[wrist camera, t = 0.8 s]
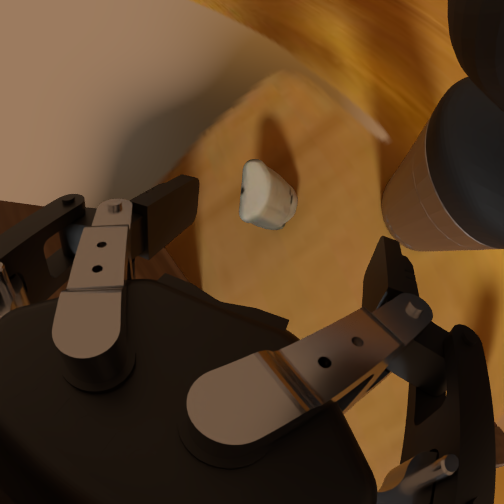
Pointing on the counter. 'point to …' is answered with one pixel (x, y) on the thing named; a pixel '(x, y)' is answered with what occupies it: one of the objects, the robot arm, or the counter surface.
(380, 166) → the counter surface
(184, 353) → the robot arm
